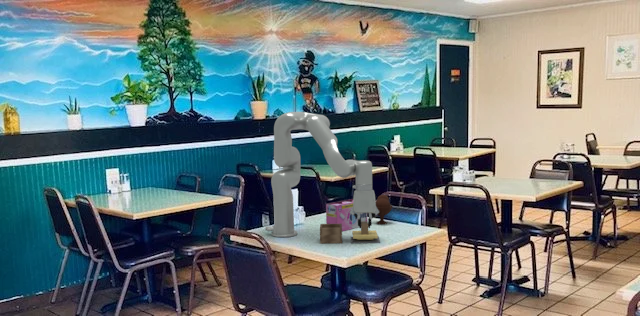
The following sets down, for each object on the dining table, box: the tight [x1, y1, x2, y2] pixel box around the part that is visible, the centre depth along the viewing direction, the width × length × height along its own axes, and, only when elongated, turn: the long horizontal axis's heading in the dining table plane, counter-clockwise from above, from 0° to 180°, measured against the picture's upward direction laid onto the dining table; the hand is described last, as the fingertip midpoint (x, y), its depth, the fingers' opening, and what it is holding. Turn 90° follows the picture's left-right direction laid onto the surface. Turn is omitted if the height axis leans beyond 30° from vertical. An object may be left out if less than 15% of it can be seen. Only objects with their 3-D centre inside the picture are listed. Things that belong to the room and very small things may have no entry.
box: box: [319, 223, 343, 245], centre depth 270 cm, size 10×10×7 cm
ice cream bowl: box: [375, 194, 393, 226], centre depth 306 cm, size 11×11×15 cm
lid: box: [351, 220, 379, 240], centre depth 269 cm, size 11×11×7 cm
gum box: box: [325, 198, 368, 232], centre depth 298 cm, size 24×8×14 cm, turn 134°
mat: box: [350, 235, 381, 244], centre depth 269 cm, size 13×11×1 cm
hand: (364, 227), depth 269 cm, fingers open, 3 cm apart
